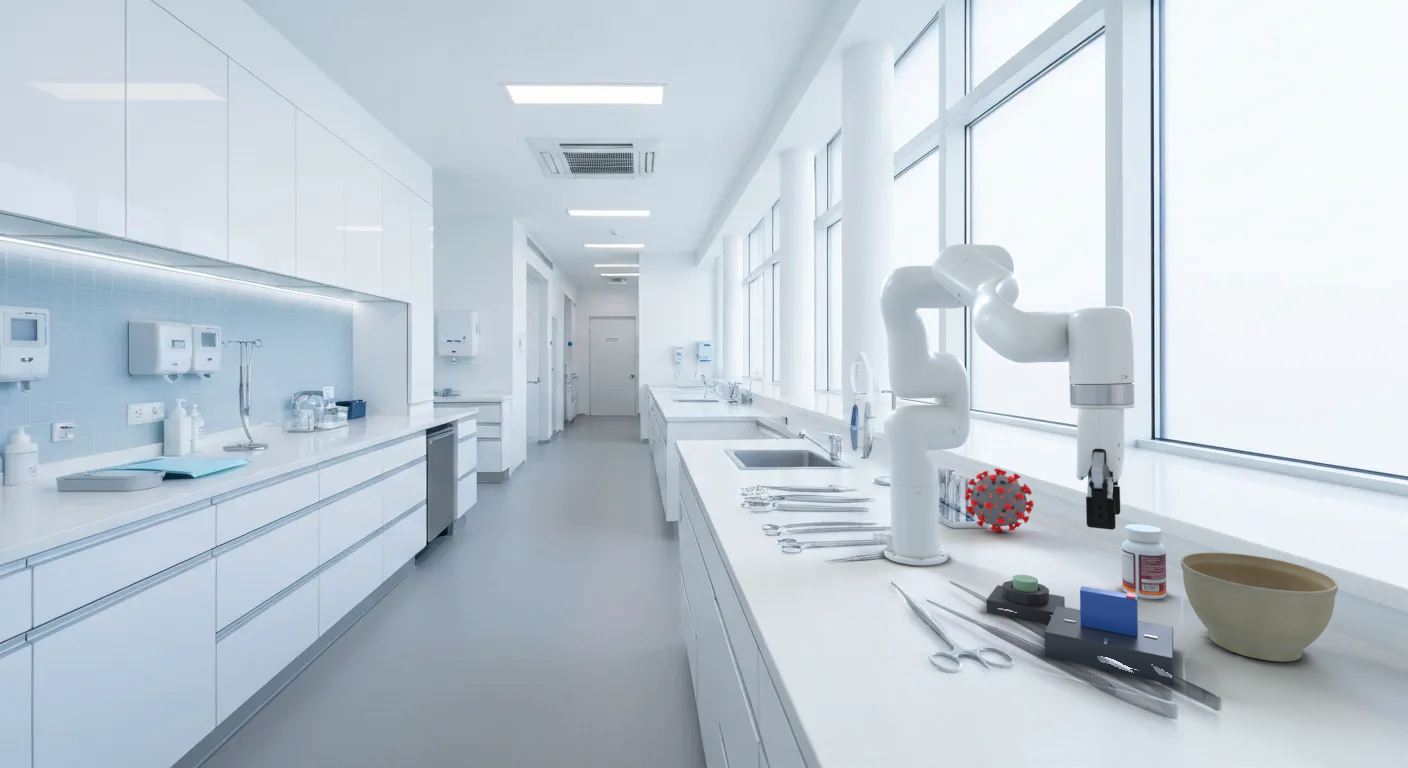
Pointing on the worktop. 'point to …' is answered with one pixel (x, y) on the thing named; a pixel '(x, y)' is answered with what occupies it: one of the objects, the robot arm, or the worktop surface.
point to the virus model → (998, 500)
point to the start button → (1025, 583)
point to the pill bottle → (1144, 562)
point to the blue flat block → (1109, 610)
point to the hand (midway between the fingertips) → (1104, 520)
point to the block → (1024, 603)
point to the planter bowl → (1258, 603)
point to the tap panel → (1110, 646)
